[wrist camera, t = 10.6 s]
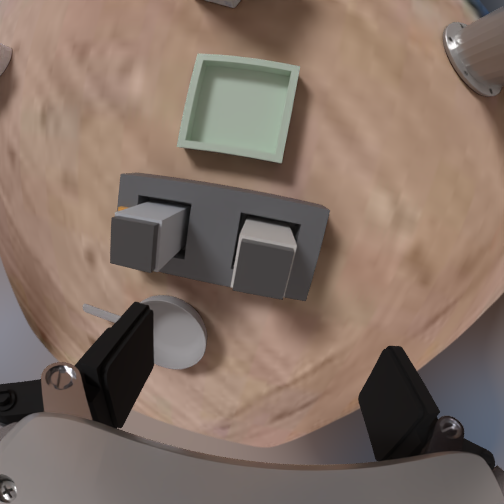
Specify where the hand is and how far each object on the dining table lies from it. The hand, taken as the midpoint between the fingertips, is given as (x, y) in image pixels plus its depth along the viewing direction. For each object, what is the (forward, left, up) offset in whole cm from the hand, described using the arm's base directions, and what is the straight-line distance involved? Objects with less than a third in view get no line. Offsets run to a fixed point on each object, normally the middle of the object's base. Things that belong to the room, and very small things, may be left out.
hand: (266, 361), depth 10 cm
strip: (+6, +1, -22) cm, 23 cm away
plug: (0, +1, -21) cm, 21 cm away
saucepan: (+14, +15, -23) cm, 30 cm away
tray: (+6, -13, -22) cm, 27 cm away
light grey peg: (+11, +1, -21) cm, 24 cm away
